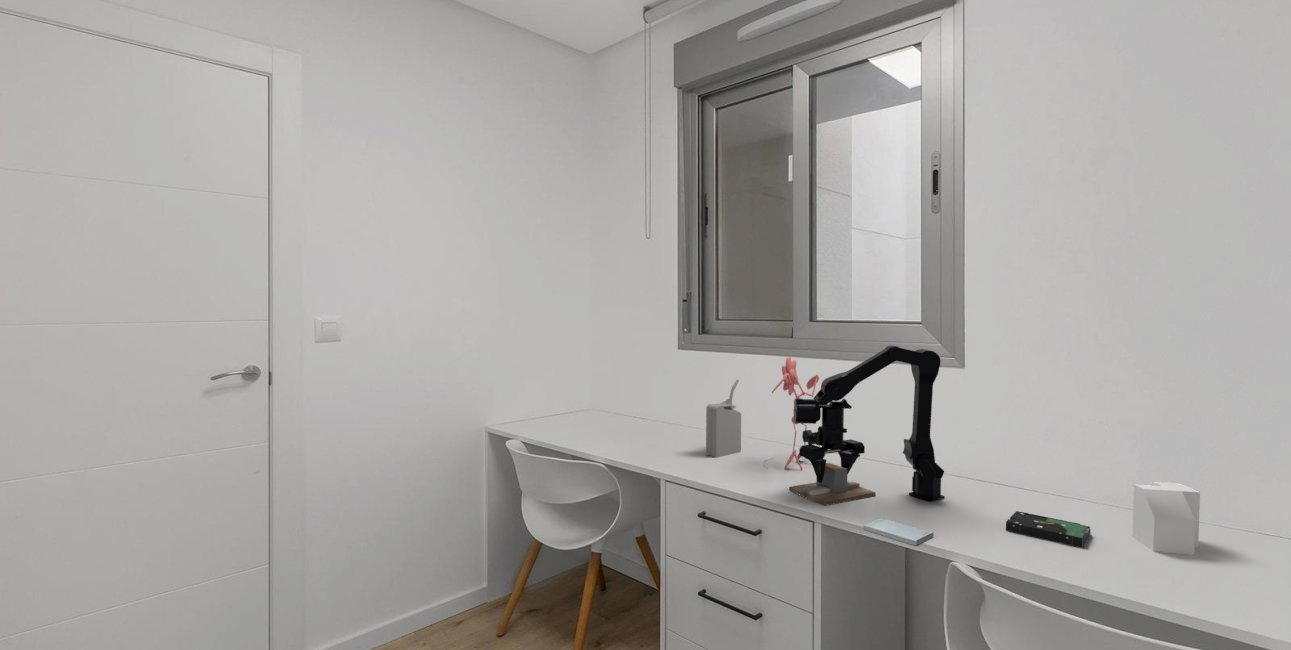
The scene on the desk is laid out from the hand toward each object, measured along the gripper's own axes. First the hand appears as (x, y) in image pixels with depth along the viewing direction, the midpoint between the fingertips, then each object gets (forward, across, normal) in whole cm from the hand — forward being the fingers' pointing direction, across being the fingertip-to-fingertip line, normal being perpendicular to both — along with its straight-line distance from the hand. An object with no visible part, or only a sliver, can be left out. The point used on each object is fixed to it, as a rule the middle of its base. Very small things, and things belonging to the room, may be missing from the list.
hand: (831, 480), depth 168 cm
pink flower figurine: (+4, -9, -30) cm, 31 cm away
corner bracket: (+4, -41, +58) cm, 71 cm away
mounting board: (+4, 0, 0) cm, 4 cm away
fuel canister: (+4, +1, -50) cm, 51 cm away
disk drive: (+4, -24, +44) cm, 50 cm away
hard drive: (+4, +7, +29) cm, 30 cm away
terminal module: (+2, 0, 0) cm, 3 cm away
